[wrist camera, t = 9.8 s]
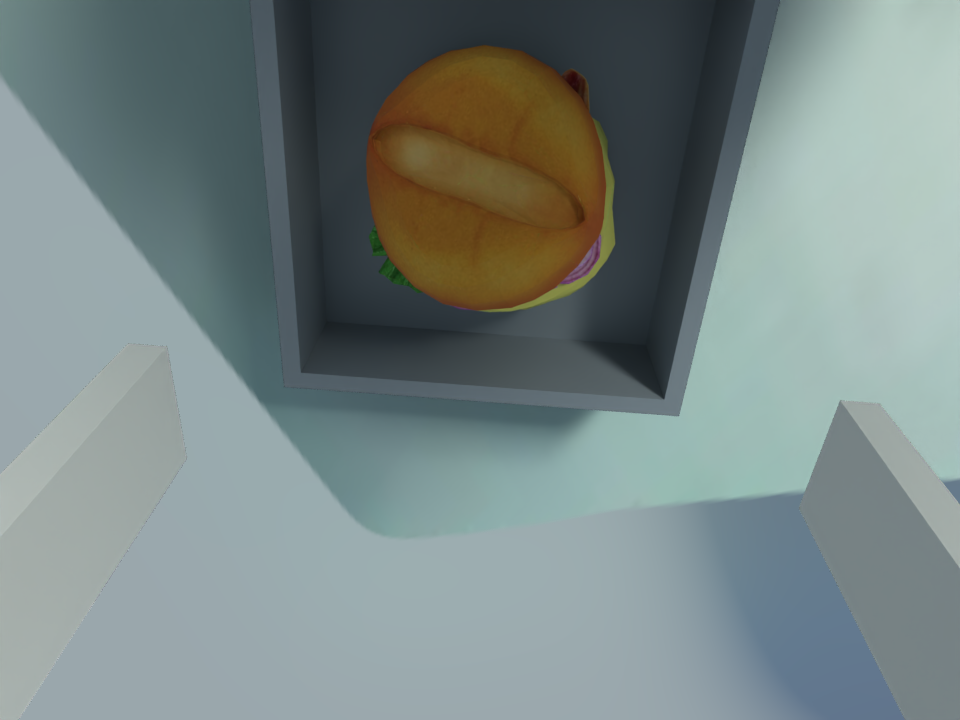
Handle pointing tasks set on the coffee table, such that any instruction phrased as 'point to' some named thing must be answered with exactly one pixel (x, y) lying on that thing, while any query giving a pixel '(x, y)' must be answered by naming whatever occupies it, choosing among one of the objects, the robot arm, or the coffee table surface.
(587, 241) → the cheeseburger
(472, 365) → the bin
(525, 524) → the coffee table surface
